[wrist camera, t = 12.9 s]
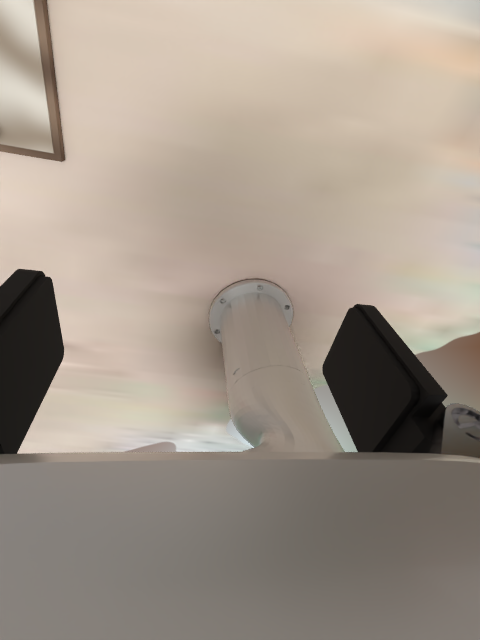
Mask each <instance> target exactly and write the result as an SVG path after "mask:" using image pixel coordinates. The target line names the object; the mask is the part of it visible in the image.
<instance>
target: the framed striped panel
mask: <svg viewBox="0 0 480 640" xmlns="http://www.w3.org/2000/svg"><path fill="white" fill-rule="evenodd" d="M0 151H2V152H8V153H14V154H19V155H25V156H31V157H37V158H43V159H49V160H55V161H61V162H62V161H64V160H65V155H64V147H63V138H62V130H61V121H60V113H59V104H58V96H57V87H56V79H55V70H54V62H53V53H52V45H51V36H50V28H49V19H48V10H47V2H46V0H0Z"/></svg>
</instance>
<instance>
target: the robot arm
mask: <svg viewBox="0 0 480 640" xmlns="http://www.w3.org/2000/svg"><path fill="white" fill-rule="evenodd" d="M259 285H260V286H259ZM223 298H224V299H223ZM292 318H293V308H292V304H291V301H290V299H289V297H288V296H287V294H286V293H285V291H283V290H282V289H281V288H280V287H279V286H277V285H275V284H274V283H271V282H268V281H264V280H258V279H257V280H245V281H240V282H237V283H235V284H232V285H231V286H229V287H227V288H225V289H224V290H223V291H222V292H221V293H219V295H218V296H217V297H216V298H215V299H214V301H213V303H212V305H211V308H210V312H209V325H210V328H211V332H212V333H213V335H214V337H215V338H216V339H217V340H218V341H219V342H220V343H222V349H223V358H224V368H225V377H226V387H227V397H228V405H229V412H230V416H231V419H232V422H233V424H234V426H235V427H236V429H237V430H238V432H239V433H240V434H241V435H242V436H243V438H244V439H246V440H247V441H248V442H249V443H250V444H251V445H252V446H253V447H255V448H252V449H249V450H245V451H243V452H97V453H33V454H17V452H18V450H19V448H20V446H21V444H22V442H23V440H24V438H25V436H26V434H27V431H28V429H29V427H30V425H31V423H32V421H33V419H34V417H35V415H36V413H37V411H38V409H39V407H40V405H41V403H42V401H43V399H44V397H45V395H46V393H47V390H48V388H49V386H50V384H51V382H52V380H53V378H54V376H55V374H56V372H57V370H58V368H59V366H60V364H61V362H62V359H63V356H64V346H63V340H62V334H61V328H60V323H59V317H58V311H57V305H56V300H55V294H54V288H53V283H52V279H51V278H50V277H45V274H44V273H43V272H42V271H35V270H25V269H18V270H16V271H15V272H14V273H13V274H12V275H11V276H10V277H9V278H8V279H7V280H6V281H5V282H4V283H3V284H2V285H1V286H0V640H480V412H479V411H477V410H476V409H474V408H472V407H469V406H467V405H463V404H459V403H453V404H450V405H448V406H447V407H446V408H445V406H444V405H443V404H442V401H443V400H444V399H445V398H446V397H447V394H446V393H445V392H444V390H443V389H442V388H441V387H440V385H439V384H438V383H437V382H436V381H435V380H434V378H433V377H432V376H431V374H430V373H429V372H428V371H427V370H426V368H425V367H424V366H423V365H422V363H421V362H420V361H419V360H418V359H417V357H416V356H415V355H414V354H413V353H412V351H411V350H410V349H409V348H408V346H407V345H406V344H405V343H404V342H403V340H402V339H401V338H400V337H399V335H398V334H397V333H396V332H395V331H394V329H393V328H392V327H391V326H390V324H389V323H388V322H387V321H386V320H385V318H384V317H383V316H382V315H381V314H380V312H379V311H378V310H377V309H376V307H374V306H371V305H361V304H356V305H355V306H354V307H353V308H350V309H349V310H348V312H347V314H346V316H345V318H344V320H343V322H342V325H341V327H340V329H339V331H338V333H337V335H336V338H335V340H334V342H333V344H332V346H331V348H330V351H329V353H328V355H327V357H326V359H325V361H324V364H323V375H324V377H325V379H326V381H327V384H328V386H329V388H330V390H331V393H332V395H333V397H334V399H335V402H336V404H337V406H338V408H339V410H340V413H341V415H342V417H343V419H344V422H345V424H346V426H347V428H348V431H349V433H350V435H351V437H352V439H353V442H354V444H355V446H356V449H357V451H358V452H344V450H343V448H342V447H341V445H340V443H339V441H338V440H337V438H336V436H335V435H334V433H333V431H332V429H331V427H330V425H329V423H328V421H327V419H326V417H325V415H324V413H323V411H322V409H321V406H320V404H319V402H318V399H317V397H316V394H315V392H314V389H313V387H312V384H311V382H310V379H309V376H308V374H307V371H306V369H305V366H304V364H303V361H302V359H301V356H300V354H299V351H298V348H297V346H296V343H295V341H294V338H293V336H292V333H291V331H290V328H289V327H290V325H291V323H292Z"/></svg>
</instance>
